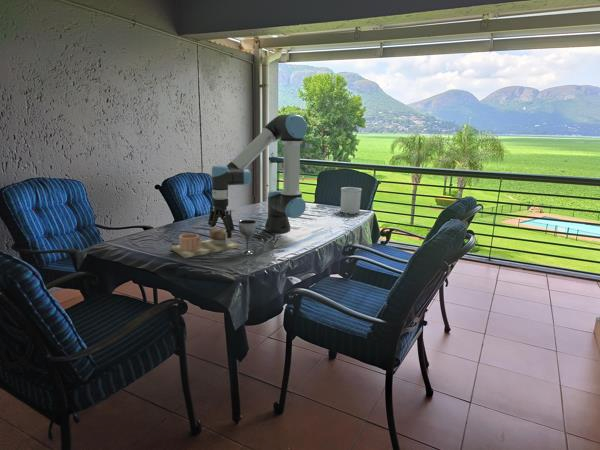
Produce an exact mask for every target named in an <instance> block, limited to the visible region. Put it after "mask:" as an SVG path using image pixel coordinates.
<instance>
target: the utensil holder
mask: <svg viewBox="0 0 600 450" xmlns="http://www.w3.org/2000/svg"><path fill="white" fill-rule="evenodd" d="M362 190H363V189H362V188H361V187H353V186H347V187H345V186H344V187H341V188H340V213H342V212H343V213H342V214H347V213H349V215H357V214H359V213H360V208H361V197H362ZM356 213H357V214H356Z"/></svg>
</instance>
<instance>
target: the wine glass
mask: <svg viewBox="0 0 600 450" xmlns="http://www.w3.org/2000/svg"><path fill="white" fill-rule="evenodd" d="M256 228H257V221H256V220H253V219H242V220H238V230H239V233H240V236H242V238H244V240H245V243H246V244H245V245H246V249H243V250H240V251H239V254H241V255H245V256H248V255H249V256H250V255H254V254H255V253H256V252H255V251H254V250H252V249H249V243H250V239H251V238H252V237H253V236H254V235H255V233H256Z"/></svg>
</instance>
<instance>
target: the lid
mask: <svg viewBox="0 0 600 450" xmlns="http://www.w3.org/2000/svg"><path fill="white" fill-rule="evenodd" d="M225 231H226V228H225V227H221V228H219V227H217V229H212V230H211V229H210V230H209V239H210V240H212V239H214V240H225ZM232 238H233V231H231V239H232Z"/></svg>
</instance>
